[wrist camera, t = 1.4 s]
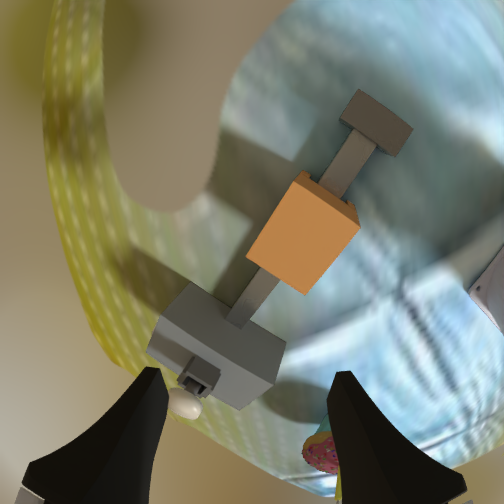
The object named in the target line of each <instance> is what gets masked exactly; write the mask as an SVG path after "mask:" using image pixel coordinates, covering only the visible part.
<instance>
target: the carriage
mask: <svg viewBox="0 0 504 504" xmlns="http://www.w3.org/2000/svg"><path fill="white" fill-rule="evenodd" d="M310 176H311V175H310V174H309V173H307V172H306V171H304V170H302V172H301V173H300V174H299V175H298V176H297V177H296V179H295V180H294V181H293V183H292V184H291V186H290V187H289V189H288V190H287V192H286V194H285V195H284V197H283V198H282V200H281V201H280V203H279V205H278V206H277V208H276V209H275V211H274V212H273V214H272V216H271V217H270V219H269V220H268V222H267V223H266V225H265V227H264V228H263V230H262V231H261V233H260V234H259V236H258V238H257V239H256V241H255V242H254V244H253V245H252V247H251V249H250V250H249V252H248V253H247V255H246V257H247V258H248V259H250V260H251V261H253V262H254V263H256V264H257V265H259V266H260V267H262V268H264V269H265V270H267V271H268V272H270V273H271V274H273V275H274V276H276V277H277V278H279V279H280V280H282V281H283V282H285V283H287V284H288V285H290V286H291V287H293V288H294V289H296V290H297V291H299V292H300V293H302V294H303V295H306V294H307V293H308V291H309V290H310V289H311V288H312V287H313V286H314V284H315V283H316V282H317V281H318V280H319V278H320V277H321V276H322V275H323V274H324V273H325V271H326V270H327V269H328V268H329V267H330V265H331V264H332V263H333V262H334V260H335V259H336V258H337V257H338V256H339V254H340V253H341V252H342V251H343V249H344V248H345V247H346V246H347V244H348V243H349V242H350V240H351V239H352V238H353V237H354V235H355V234H356V233H357V232H358V230H359V229H360V228H361V227H360V223H359V219H358V216H357V212H356V209H355V205H354V204H352V203H351V202H349V201H348V200H347V201H346V202H345V203H344V202H343V201H342V200H340V199H339V198H337V197H336V196H335V195H333V194H332V193H330V192H329V191H327V190H326V189H324V188H323V187H321V186H320V185H319V184H317V183H316V182H314V181H313V180H311V179H310Z"/></svg>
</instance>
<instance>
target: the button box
mask: <svg viewBox="0 0 504 504" xmlns="http://www.w3.org/2000/svg"><path fill="white" fill-rule="evenodd" d="M230 309H231V308H230V307H228V306H227V305H225V304H224V303H222V302H221V301H219V300H218V299H216V298H215V297H213V296H212V295H210V294H209V293H207V292H206V291H204V290H203V289H201V288H200V287H198V286H197V285H195V284H194V283H192V282H190V283H189V284H188V285H187V286H186V287H185V288H184V289H183V290H182V291H181V293H180V294H179V295H178V296H177V297H176V298H175V299H174V300H173V301H172V302H171V303H170V305H169V306H168V307H167V308H166V309H165V310H164V311H163V312H162V313H161V315H160V317H159V319H158V322H157V324H156V325H155V327H154V329H153V331H152V337H151V339H150V342H149V344H148V347H147V350H146V353H147V354H149V355H150V356H151V357H153V358H154V359H156V360H157V361H159V362H160V363H161V364H163V365H164V366H166V367H167V368H169V369H170V370H172V371H173V372H175V373H176V374H178V375H179V377H178V378H177V381H178V385H179V386H181V387H182V388H184V389H185V387H186V385H187V384H188V382H189V380H190V379H194V380H196V381H197V382H199V383H201V387H200V389H199V391H198V393H197V394H196V396H197V397H199V398H202V397H204V398H206V397H207V396H208V395H209V394H210V395H212V396H214V397H215V398H217V399H219V400H221V401H222V402H224V403H226V404H228V405H230V406H232V407H233V408H235V409H237V410H241V409H242V408H244V407H245V406H246V405H248V404H249V403H251V402H252V401H253V400H255V399H256V398H258V397H259V396H260V395H262V394H263V393H264V392H266V391H267V390H268V389H270V388H271V387H272V386H274V383H275V380H276V377H277V374H278V370H279V367H280V364H281V360H282V357H283V353H284V350H285V346H286V342H284V341H283V340H281V339H279V338H278V337H276V336H274V335H273V334H271V333H270V332H268V331H266V330H265V329H263V328H261V327H260V326H258V325H257V324H255V323H253V322H252V321H250V320H248V322H247V323H246V324H245V325H244V327H243V328H242V329H241V330H240V329H239V328H237V327H236V326H234V325H232V324H231V323H229V322H228V321H226V320H225V318H226V316H227V314H228V313H229V311H230Z"/></svg>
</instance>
